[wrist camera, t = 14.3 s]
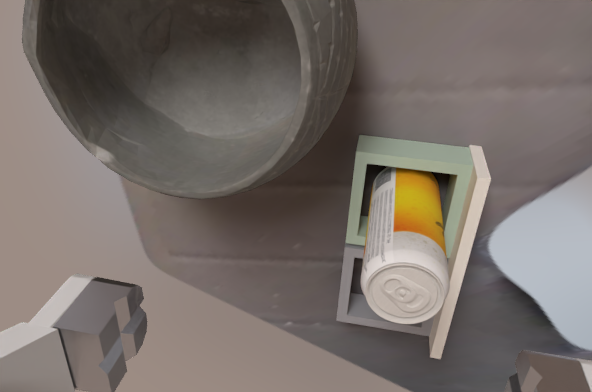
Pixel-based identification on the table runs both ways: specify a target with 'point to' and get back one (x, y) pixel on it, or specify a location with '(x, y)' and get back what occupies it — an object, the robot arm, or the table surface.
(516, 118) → the table surface
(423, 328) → the holder board
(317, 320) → the table surface
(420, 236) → the beer can
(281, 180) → the table surface
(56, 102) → the bowl
